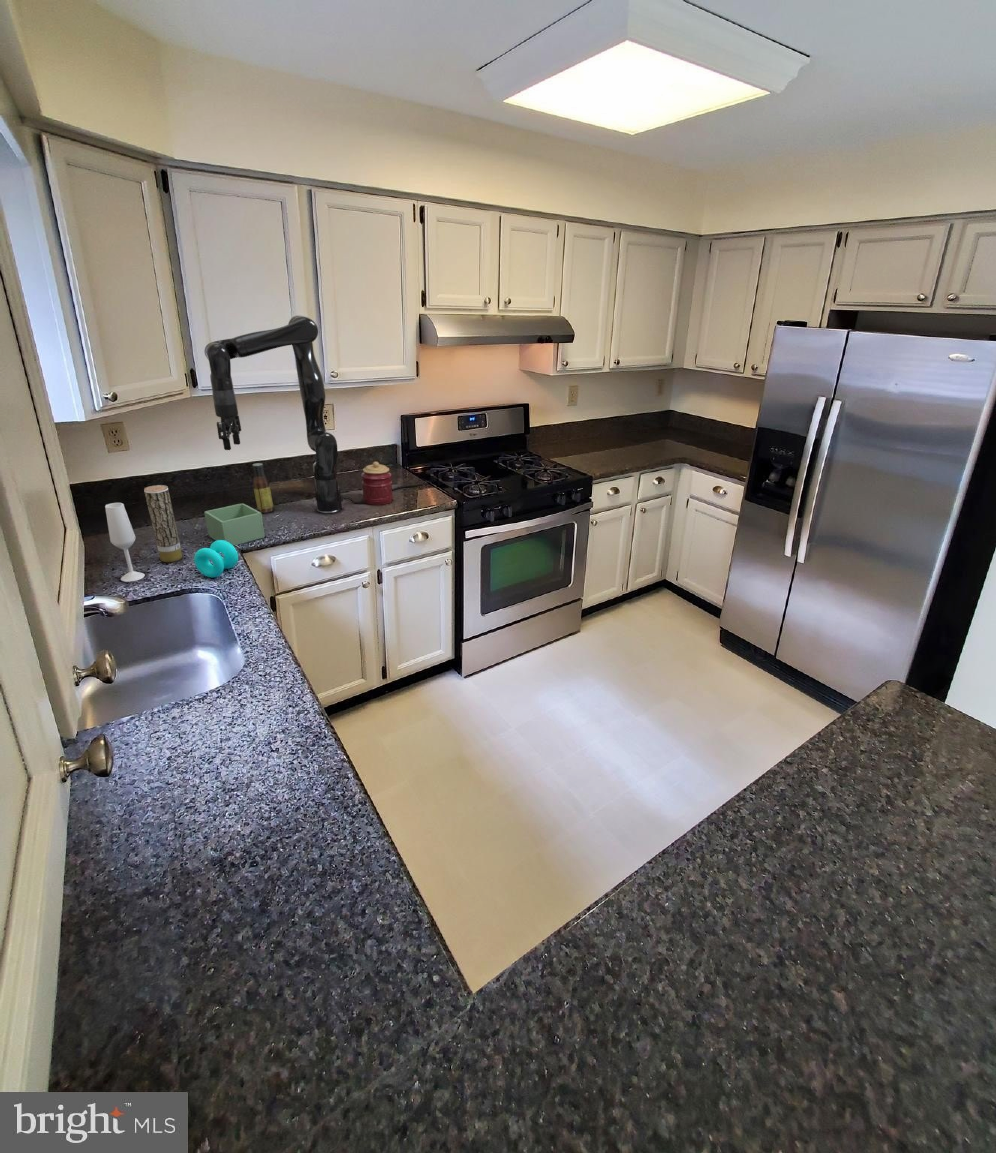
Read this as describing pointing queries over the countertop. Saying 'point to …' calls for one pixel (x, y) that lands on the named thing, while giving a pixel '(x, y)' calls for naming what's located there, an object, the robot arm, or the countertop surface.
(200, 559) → the turquoise yo-yo
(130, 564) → the champagne flute
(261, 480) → the sauce bottle
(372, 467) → the kitchen canister
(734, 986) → the countertop surface
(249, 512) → the bin
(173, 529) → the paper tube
